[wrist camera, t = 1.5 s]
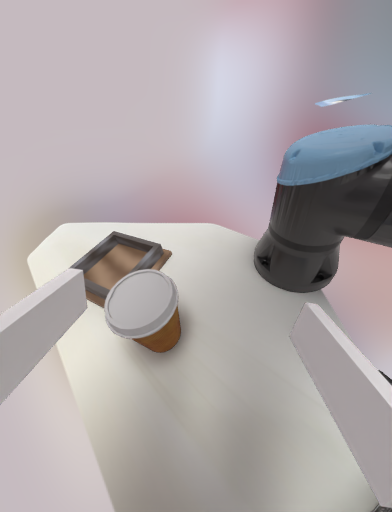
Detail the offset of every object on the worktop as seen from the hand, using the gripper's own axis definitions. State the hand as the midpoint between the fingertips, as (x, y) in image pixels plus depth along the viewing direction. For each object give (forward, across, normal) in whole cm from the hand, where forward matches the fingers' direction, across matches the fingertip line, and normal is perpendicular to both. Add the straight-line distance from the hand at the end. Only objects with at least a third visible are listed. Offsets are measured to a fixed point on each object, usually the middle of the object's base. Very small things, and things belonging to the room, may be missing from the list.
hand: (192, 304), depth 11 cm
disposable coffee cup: (+14, -3, -18) cm, 23 cm away
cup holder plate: (+28, -17, -16) cm, 37 cm away
